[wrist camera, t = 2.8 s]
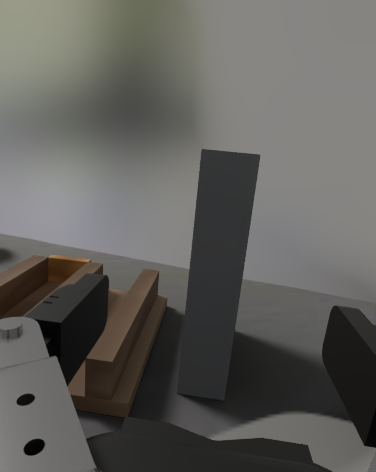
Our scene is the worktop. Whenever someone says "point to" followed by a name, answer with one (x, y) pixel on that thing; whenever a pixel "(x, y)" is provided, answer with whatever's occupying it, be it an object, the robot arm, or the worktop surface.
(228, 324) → the panel
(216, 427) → the worktop surface
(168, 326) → the worktop surface
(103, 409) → the rack
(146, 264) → the worktop surface
